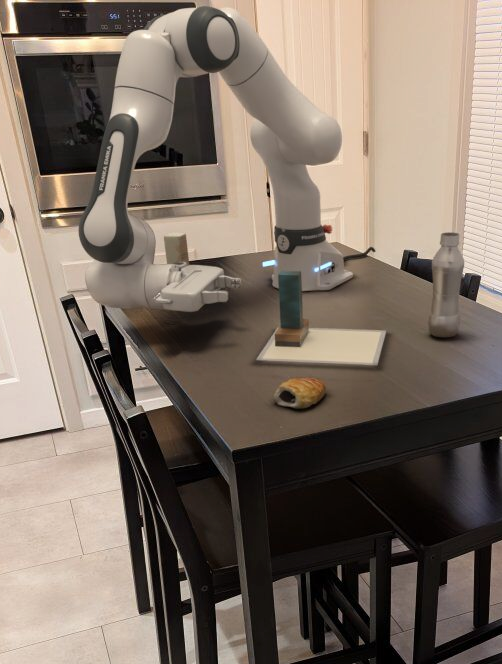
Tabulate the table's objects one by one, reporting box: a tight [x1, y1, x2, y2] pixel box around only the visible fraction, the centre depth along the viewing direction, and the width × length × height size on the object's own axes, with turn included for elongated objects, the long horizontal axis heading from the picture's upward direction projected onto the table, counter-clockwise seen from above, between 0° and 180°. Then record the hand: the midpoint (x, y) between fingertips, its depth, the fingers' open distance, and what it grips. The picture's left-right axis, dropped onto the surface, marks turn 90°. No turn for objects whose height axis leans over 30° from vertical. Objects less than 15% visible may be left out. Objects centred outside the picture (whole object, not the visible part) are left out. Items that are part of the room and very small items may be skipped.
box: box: [163, 231, 190, 266], centre depth 187 cm, size 5×4×11 cm
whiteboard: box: [255, 326, 387, 366], centre depth 143 cm, size 23×20×1 cm
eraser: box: [275, 271, 310, 347], centre depth 143 cm, size 5×10×13 cm, turn 172°
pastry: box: [273, 377, 327, 410], centre depth 121 cm, size 9×7×4 cm
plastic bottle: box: [427, 232, 465, 338], centre depth 143 cm, size 6×7×20 cm
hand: (234, 289), depth 142 cm, fingers open, 8 cm apart
